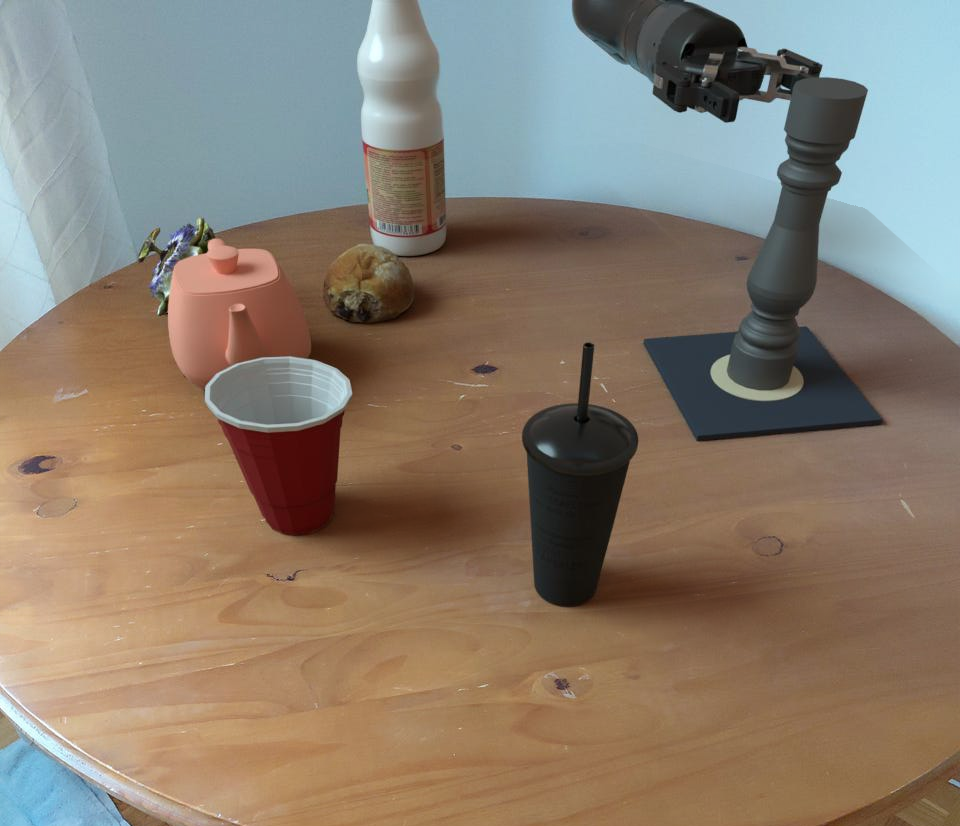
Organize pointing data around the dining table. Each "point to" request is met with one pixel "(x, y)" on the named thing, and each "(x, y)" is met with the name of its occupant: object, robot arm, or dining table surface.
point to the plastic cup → (284, 435)
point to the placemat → (747, 412)
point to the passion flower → (174, 256)
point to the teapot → (232, 312)
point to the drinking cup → (575, 490)
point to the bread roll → (368, 285)
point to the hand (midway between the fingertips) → (778, 104)
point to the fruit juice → (402, 130)
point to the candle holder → (794, 230)
